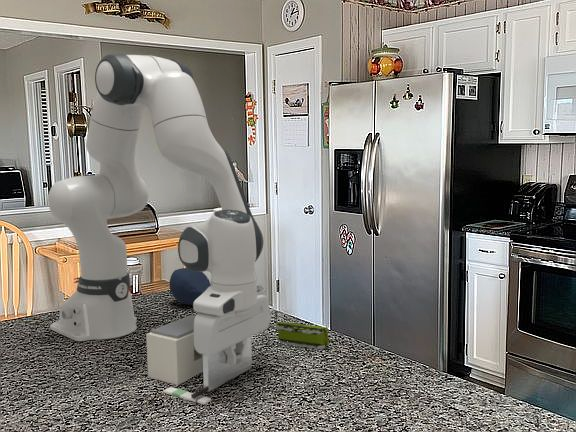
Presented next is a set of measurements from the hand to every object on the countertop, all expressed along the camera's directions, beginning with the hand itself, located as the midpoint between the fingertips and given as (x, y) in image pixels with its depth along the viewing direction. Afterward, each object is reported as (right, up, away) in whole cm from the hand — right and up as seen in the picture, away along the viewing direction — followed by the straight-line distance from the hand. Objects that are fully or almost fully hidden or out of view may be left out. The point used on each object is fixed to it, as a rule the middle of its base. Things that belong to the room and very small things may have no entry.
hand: (235, 362), depth 121 cm
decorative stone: (-18, +3, +56) cm, 59 cm away
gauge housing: (-8, -4, +3) cm, 9 cm away
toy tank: (+11, -1, +24) cm, 27 cm away
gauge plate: (-7, -3, +2) cm, 8 cm away
